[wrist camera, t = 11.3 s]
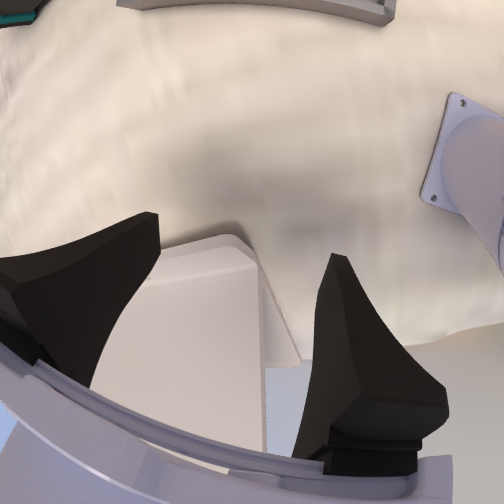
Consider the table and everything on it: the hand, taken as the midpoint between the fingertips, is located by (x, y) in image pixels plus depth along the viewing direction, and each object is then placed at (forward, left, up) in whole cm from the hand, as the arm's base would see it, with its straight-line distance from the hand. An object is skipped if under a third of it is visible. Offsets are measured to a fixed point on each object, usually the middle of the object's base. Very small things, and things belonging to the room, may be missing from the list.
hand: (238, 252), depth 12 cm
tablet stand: (+9, +18, -10) cm, 22 cm away
